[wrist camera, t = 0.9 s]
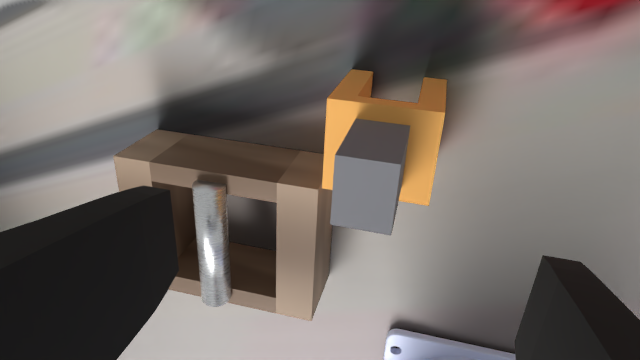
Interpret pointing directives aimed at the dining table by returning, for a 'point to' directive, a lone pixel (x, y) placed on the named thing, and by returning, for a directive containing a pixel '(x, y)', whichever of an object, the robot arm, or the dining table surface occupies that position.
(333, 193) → the orange u-shaped bracket
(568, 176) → the dining table surface
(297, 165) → the rectangular frame
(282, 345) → the dining table surface
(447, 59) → the dining table surface
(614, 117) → the dining table surface
